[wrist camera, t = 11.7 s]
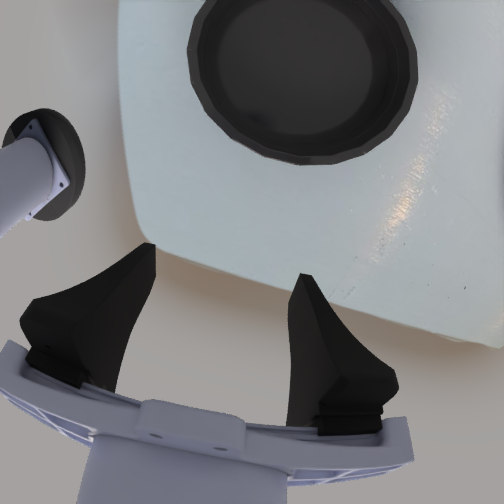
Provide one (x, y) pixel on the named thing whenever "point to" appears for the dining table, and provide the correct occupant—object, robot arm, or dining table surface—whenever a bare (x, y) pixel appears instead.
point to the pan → (303, 75)
